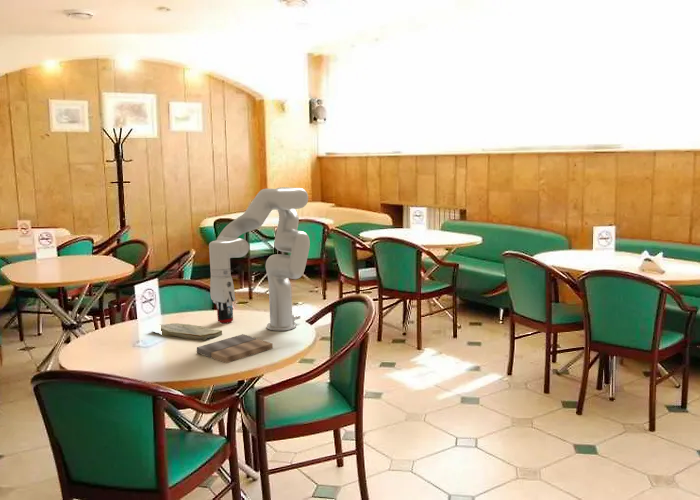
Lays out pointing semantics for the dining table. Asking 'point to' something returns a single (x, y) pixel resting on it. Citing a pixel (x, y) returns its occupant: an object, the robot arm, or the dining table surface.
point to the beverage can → (230, 315)
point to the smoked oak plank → (223, 344)
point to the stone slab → (189, 331)
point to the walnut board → (241, 350)
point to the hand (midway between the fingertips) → (223, 319)
